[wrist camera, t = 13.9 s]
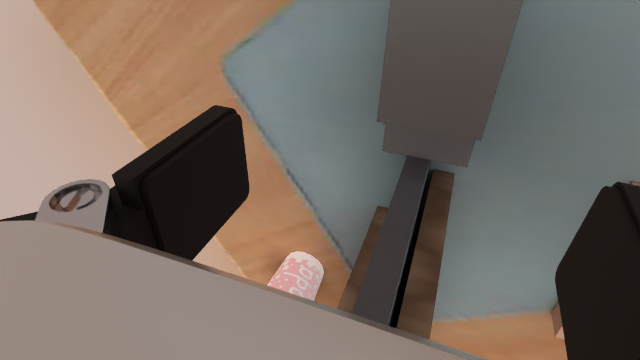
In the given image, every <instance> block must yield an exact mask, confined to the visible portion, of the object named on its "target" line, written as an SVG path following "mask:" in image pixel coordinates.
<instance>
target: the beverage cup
mask: <svg viewBox="0 0 640 360" xmlns="http://www.w3.org/2000/svg"><path fill="white" fill-rule="evenodd" d="M323 274H324V270H323V266H322V265H321V264H320V262H319V261H318V260H317V259H316V258H314V257H313V256H312V255H310V254H307V253H305V252H298V251H296V252H293V253H290V254H289V255H288V256H287V257H286V259H285V260H284V262H283V263H282V265H281V266H280V267H279V269H278V270H277V272H276V273H275V274H274V276H273V277H272V279H271V280H270V282H269V283H268V284H267V286H270V287H273V288H276V289H279V290H282V291H285V292H288V293H291V294H294V295H297V296H300V297H303V298H306V299H310V300H313V301H314V299H315V296H316V293H317V291H318V288H319V285H320V283H321V280H322V278H323Z"/></svg>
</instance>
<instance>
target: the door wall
mask: <svg viewBox="0 0 640 360" xmlns="http://www.w3.org/2000/svg"><path fill="white" fill-rule="evenodd" d="M453 180H454V174H453V173H448V172H443V171H438V170H433V175H432V179H431V183H430V187H429V192H428V196H427V200H426V204H425V209H424V213H423V217H422V221H421V226H420V230H419V234H418V239H417V243H416V247H415V251H414V256H413V260H412V264H411V268H410V273H409V277H408V281H407V285H406V290H405V294H404V298H403V302H402V307H401V311H400V315H399V320H398V324H395V323H393V328H396V329H399V330H402V331H405V332H408V333H411V334H414V335H417V336H420V337H423V338H426V339H429V340H430V333H431V326H432V320H433V313H434V306H435V300H436V293H437V286H438V280H439V273H440V267H441V260H442V253H443V247H444V240H445V233H446V227H447V220H448V213H449V207H450V200H451V194H452V187H453ZM387 212H388V209H387V208H383V207H379V206H378V207H377V210H376V212H375V215H374V217H373V220H372V222H371V225H370V227H369V230H368V232H367V235H366V238H365V240H364V243H363V245H362V248H361V250H360V253H359V255H358V258H357V260H356V263H355V265H354V268H353V270H352V273H351V275H350V278H349V280H348V283H347V285H346V288H345V291H344V293H343V296H342V298H341V301H340V303H339V306H338V308H337V309H339V310H342V311H345V312H348V313H352V310H353V307H354V304H355V301H356V299H357V296H358V293H359V290H360V287H361V285H362V282H363V279H364V276H365V273H366V271H367V268H368V265H369V262H370V259H371V256H372V254H373V251H374V248H375V245H376V242H377V240H378V237H379V234H380V231H381V228H382V226H383V223H384V220H385V217H386V214H387Z"/></svg>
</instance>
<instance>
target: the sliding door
mask: <svg viewBox="0 0 640 360" xmlns="http://www.w3.org/2000/svg"><path fill="white" fill-rule="evenodd" d="M429 164H430V160H427V159H422V158H417V157H412V156H407V158H406V161H405V164H404V167H403V170H402V172H401V175H400V178H399V181H398V184H397V186H396V189H395V192H394V195H393V198H392V200H391V203H390V206H389V209H388V212H387V214H386V217H385V220H384V223H383V226H382V228H381V231H380V234H379V237H378V240H377V242H376V245H375V248H374V251H373V254H372V256H371V259H370V262H369V265H368V268H367V271H366V273H365V276H364V279H363V282H362V285H361V287H360V290H359V293H358V296H357V299H356V301H355V304H354V307H353V310H352V313H351V314H354V315H357V316H360V317H363V318H366V319H369V320H372V321H375V322H378V323H381V324H384V325H387V326H390V327H393V323H394V319H395V315H396V311H397V307H398V302H399V298H400V294H401V290H402V286H403V282H404V277H405V273H406V268H407V264H408V259H409V255H410V250H411V246H412V241H413V237H414V232H415V227H416V223H417V218H418V214H419V209H420V205H421V200H422V196H423V191H424V187H425V182H426V178H427V173H428V169H429Z"/></svg>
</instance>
